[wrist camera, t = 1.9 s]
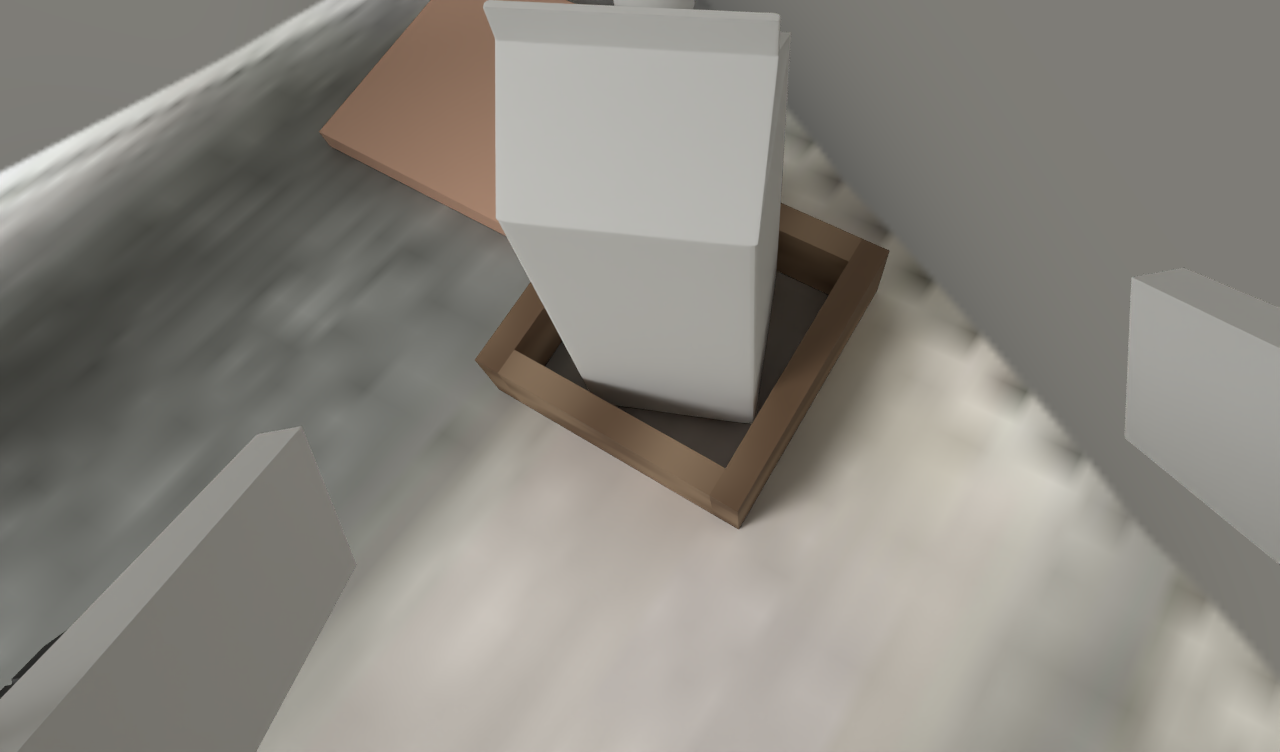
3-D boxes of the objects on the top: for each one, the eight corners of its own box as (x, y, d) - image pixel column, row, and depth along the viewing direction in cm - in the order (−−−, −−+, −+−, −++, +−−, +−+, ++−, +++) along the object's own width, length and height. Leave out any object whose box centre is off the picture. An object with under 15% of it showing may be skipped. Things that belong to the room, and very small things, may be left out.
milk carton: (754, 426, 34) (758, 148, 17) (594, 403, 36) (442, 124, 18) (776, 279, 37) (800, -98, 19) (625, 263, 38) (518, -104, 20)
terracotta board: (330, 146, 43) (319, 131, 42) (471, -23, 46) (464, -40, 45) (524, 245, 39) (517, 232, 38) (663, 54, 42) (661, 37, 41)
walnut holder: (499, 389, 36) (474, 360, 33) (643, 183, 40) (633, 138, 36) (738, 529, 33) (737, 511, 30) (876, 290, 36) (889, 250, 33)
